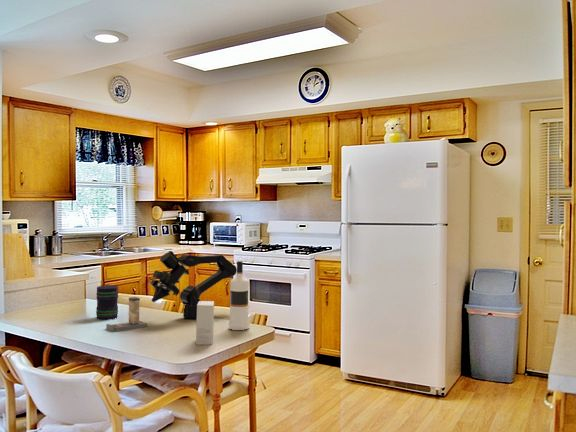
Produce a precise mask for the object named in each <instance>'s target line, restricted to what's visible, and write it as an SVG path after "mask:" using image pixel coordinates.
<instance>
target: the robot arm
mask: <svg viewBox="0 0 576 432" xmlns="http://www.w3.org/2000/svg"><path fill="white" fill-rule="evenodd" d="M159 261H160V262H161V263H162V264H163V265H164V267H165V268H167V269H168V270H170V271H169V272H168V271H167V270H162V271H160V270H154V272H153V274H152V278H154V279H152V280H150V282H149V284H150V285H151V286H152V287H153V288H154V289H155V292H154V294H153V297H152V298H151V302H152V303H155V302H157V301H159V300H161V299H163V298H165V297H167V296H171V294H170V293H171V292H172V294H173V296H176V297H177V296H178V295H179V299H180V301H181V302H182V304H183V306H184V308H183V310H182V311H183V316H182V317H183V319H184V320H197V304H198V302H199V301H201V299H200V296H201V295H202V294H203V293H205V292H206V291H208V290H209V289H210V288H212V287H213V286H215V285H216V284H218V283H220V282H221V281H222V280H225V279H229V278H231V277H235V275H237V265H235V264H233V263H232V262H231V261H229V260H228V259H227V258H226V257H225V256H224V255H223V254H211V255H195V254H188V253H185V254H181V256H178V257H177V256H176V255H175V253H174V252H173V251H172V250H169V251H168V252H166V253H164V254H162V255H161V257H160V259H159ZM200 264H202V265H203V264H216V266H217V267H218V270H217V271H216V272H215V273H214V274H212V275H210V276H209V277H207V278H206V279H205V280H203V281H201V282H200V283H198V284H197V285H195V286H193V285H188V286H187V287H186V288H183V289H182V291H180V289H179V288H178V287H177V285H176V284H179V283H180V279H181V278H182V276H184V275H188V276H189V275H190V270H189V268H192V267H195V266H199V265H200ZM186 267H189V268H186Z"/></svg>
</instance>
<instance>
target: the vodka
mask: <svg viewBox="0 0 576 432" xmlns="http://www.w3.org/2000/svg"><path fill="white" fill-rule="evenodd" d="M243 264H244V263H243V261H242V260H237V261H236V269H237V271H236V276H234V277H233V278H232V279H230V282H229V285H230V286H229V287H230V288H229V290H230V301H229V302H230V305H229V319H228V329H229V330H231V329H232V330H231V331H234V330H243V331H245V330H244V329H247V330H249V329H250V320H249V318H250V317H249V307H250V305H249V289H250V288H249V287H250V281H249V279H247V278H246V277H245V276H243V271H244V270H243V269H244V267H243Z"/></svg>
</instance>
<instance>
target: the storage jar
mask: <svg viewBox="0 0 576 432" xmlns="http://www.w3.org/2000/svg"><path fill="white" fill-rule="evenodd" d="M118 299H119V286H118V285H100V286H96V302H97V303H96V307H95V308H96V309H95V310H96V311H95V312H96V314H95V315H96V320H98V319H99V321H109V320H108V319H112V320H116V319H118V318H117V317H119V316H118V314H119V306H118ZM115 318H116V319H115Z"/></svg>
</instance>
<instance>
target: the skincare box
mask: <svg viewBox="0 0 576 432" xmlns="http://www.w3.org/2000/svg"><path fill="white" fill-rule="evenodd" d="M214 319H215V301H214V300H200V301H199V302H198V304H197V319H196V323H195V324H196V331H195V332H196V333H195V345H197V346H200V345H201V346H202V345H203V346H205V345H208V346H209V345H210V344H211V346H212V345H213V342H214V341H213V340H214V323H215V321H214Z"/></svg>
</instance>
